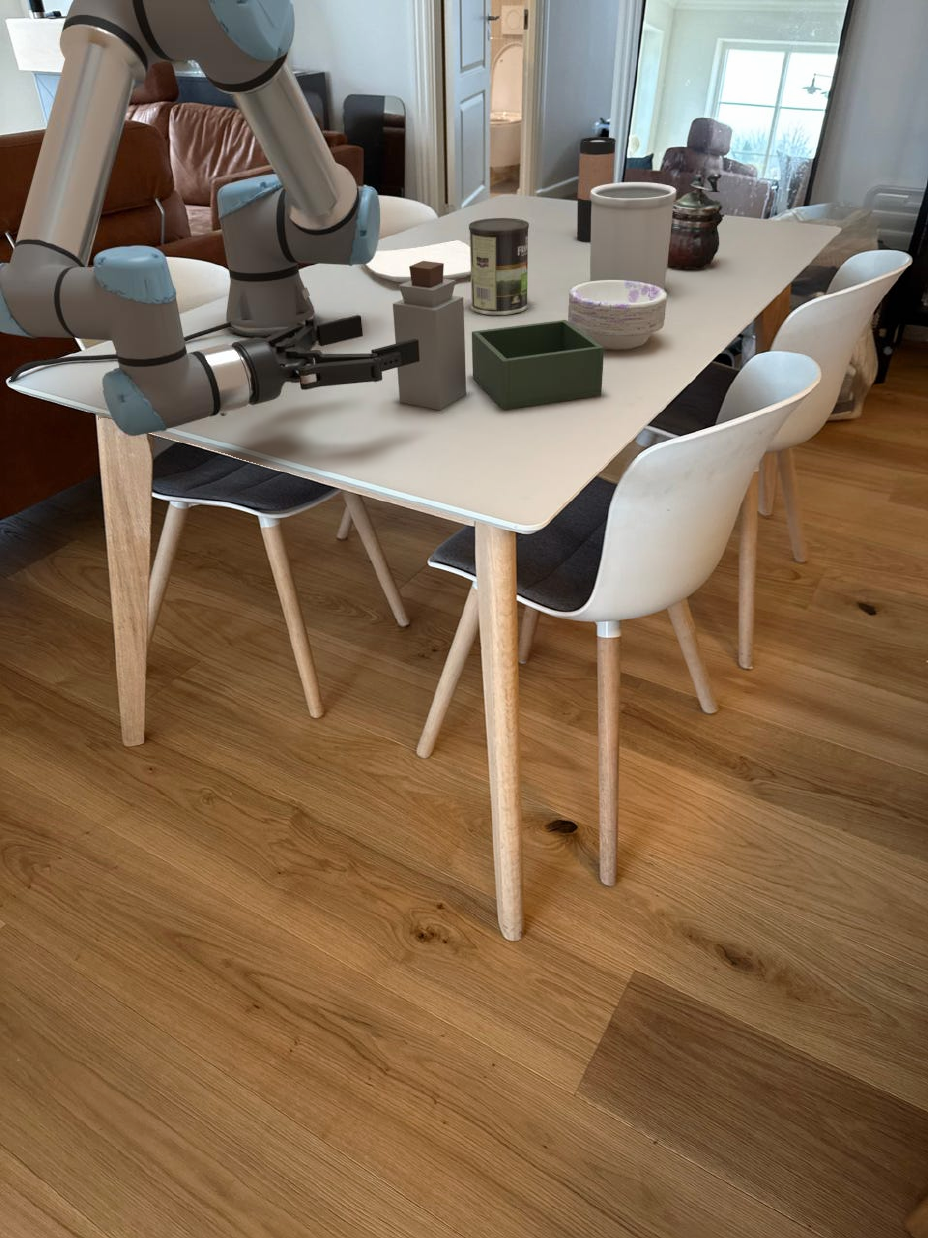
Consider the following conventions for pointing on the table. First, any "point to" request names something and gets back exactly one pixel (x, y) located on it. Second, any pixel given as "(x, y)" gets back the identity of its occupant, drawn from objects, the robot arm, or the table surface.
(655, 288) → the paper bowls
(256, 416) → the table surface
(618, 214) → the utensil holder
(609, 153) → the travel mug
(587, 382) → the tote
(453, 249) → the plate
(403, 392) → the perfume bottle
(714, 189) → the coffee grinder
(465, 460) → the table surface
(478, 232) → the coffee can
